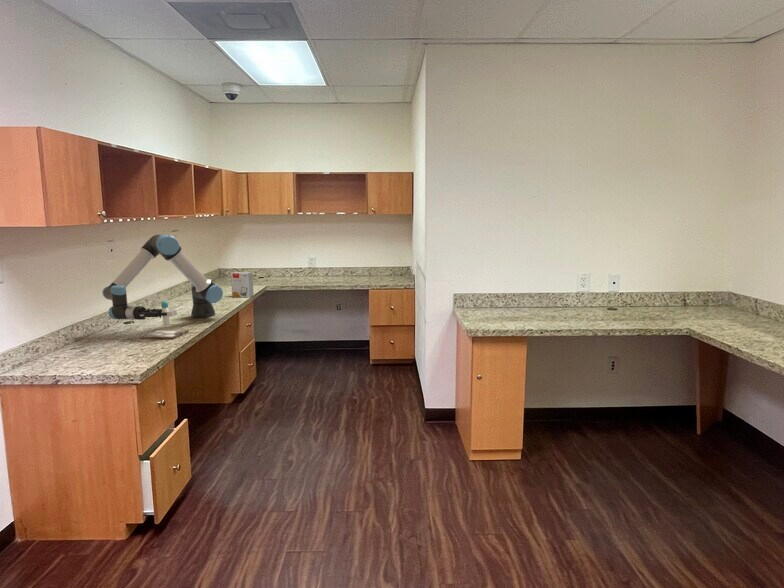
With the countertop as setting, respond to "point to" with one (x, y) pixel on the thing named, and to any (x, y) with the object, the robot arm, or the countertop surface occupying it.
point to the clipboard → (165, 334)
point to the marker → (165, 318)
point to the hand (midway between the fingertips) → (174, 313)
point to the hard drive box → (242, 284)
